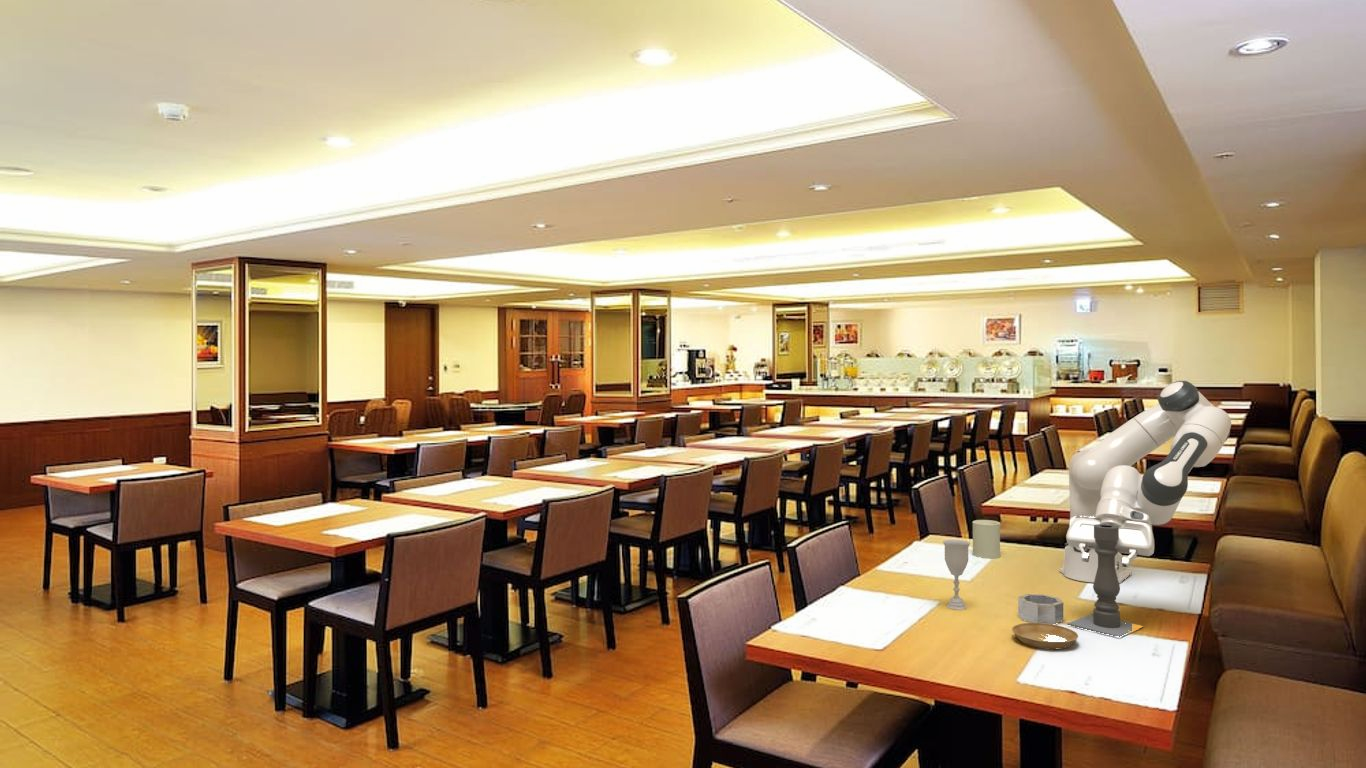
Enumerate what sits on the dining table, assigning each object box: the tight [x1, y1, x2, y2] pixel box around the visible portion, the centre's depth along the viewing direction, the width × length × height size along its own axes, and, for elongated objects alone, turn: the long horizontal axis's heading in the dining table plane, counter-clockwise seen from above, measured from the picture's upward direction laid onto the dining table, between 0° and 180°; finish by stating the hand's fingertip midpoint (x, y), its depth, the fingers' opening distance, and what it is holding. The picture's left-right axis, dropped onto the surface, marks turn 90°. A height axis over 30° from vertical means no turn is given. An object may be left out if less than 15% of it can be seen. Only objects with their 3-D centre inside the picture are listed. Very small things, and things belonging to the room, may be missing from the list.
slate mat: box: [1066, 613, 1133, 637], centre depth 214 cm, size 13×13×1 cm
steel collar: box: [1017, 593, 1064, 625], centre depth 222 cm, size 10×10×5 cm
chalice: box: [942, 538, 971, 611], centre depth 233 cm, size 7×7×18 cm
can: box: [971, 519, 1002, 559], centre depth 292 cm, size 9×9×12 cm
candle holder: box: [1092, 524, 1121, 628], centre depth 214 cm, size 6×6×25 cm
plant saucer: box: [1011, 622, 1079, 650], centre depth 204 cm, size 15×15×3 cm
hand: (1104, 563), depth 213 cm, fingers open, 8 cm apart
